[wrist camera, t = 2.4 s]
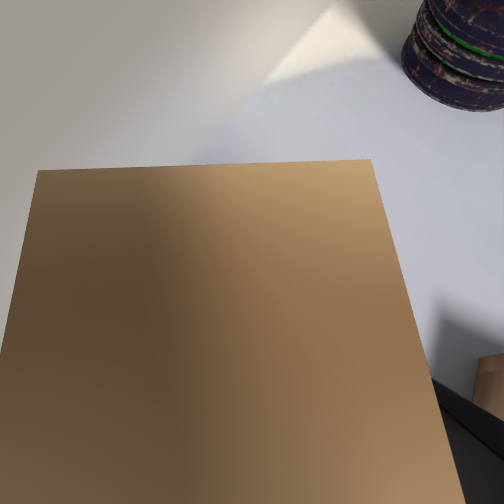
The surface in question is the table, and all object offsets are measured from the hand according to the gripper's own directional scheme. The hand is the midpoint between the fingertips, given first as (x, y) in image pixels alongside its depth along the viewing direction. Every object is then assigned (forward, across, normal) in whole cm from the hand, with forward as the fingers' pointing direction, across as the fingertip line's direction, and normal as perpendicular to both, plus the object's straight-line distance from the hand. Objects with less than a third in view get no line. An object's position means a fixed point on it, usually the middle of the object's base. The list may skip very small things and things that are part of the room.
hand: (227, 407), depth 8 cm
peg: (+7, 0, +6) cm, 9 cm away
